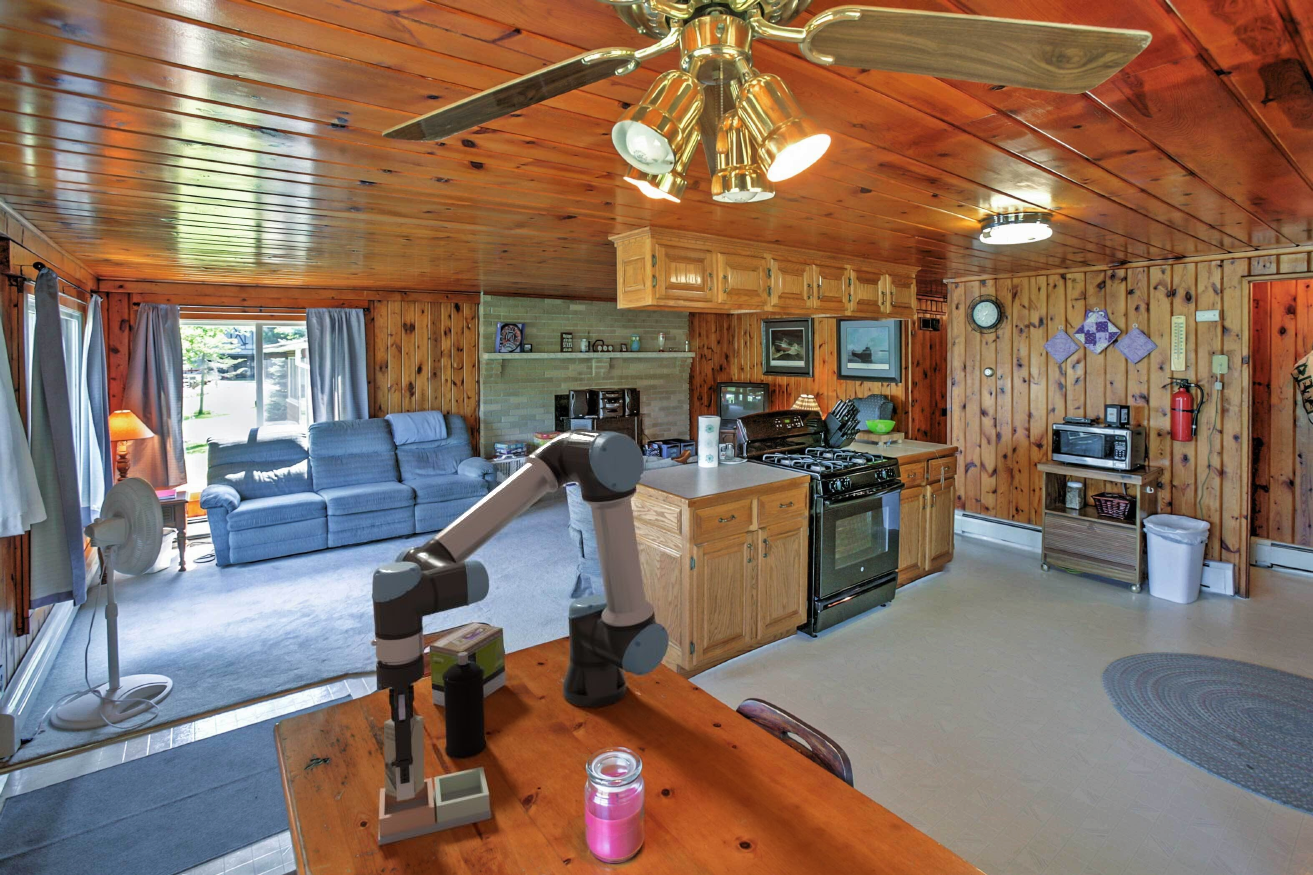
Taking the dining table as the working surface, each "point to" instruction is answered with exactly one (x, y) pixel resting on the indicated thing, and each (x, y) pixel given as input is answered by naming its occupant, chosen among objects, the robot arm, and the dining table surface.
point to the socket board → (435, 806)
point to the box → (417, 755)
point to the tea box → (469, 656)
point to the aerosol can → (464, 708)
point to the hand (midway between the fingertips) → (405, 785)
